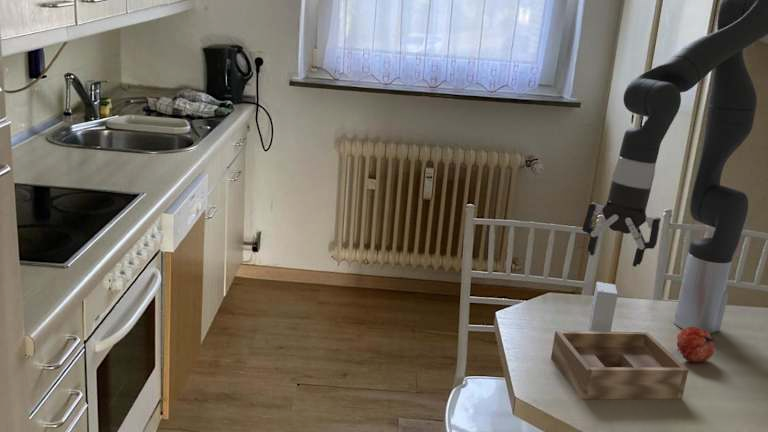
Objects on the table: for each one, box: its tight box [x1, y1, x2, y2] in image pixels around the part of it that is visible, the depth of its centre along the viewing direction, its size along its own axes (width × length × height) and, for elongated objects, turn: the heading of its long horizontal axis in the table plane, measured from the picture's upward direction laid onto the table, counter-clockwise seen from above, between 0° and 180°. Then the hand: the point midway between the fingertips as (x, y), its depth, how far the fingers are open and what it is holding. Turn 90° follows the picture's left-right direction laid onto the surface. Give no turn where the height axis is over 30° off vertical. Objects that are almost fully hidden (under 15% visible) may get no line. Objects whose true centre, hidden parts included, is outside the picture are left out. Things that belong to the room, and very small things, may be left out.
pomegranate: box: [676, 326, 716, 363], centre depth 162 cm, size 7×7×10 cm
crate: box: [550, 330, 689, 400], centre depth 151 cm, size 20×16×6 cm
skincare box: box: [586, 281, 619, 332], centre depth 167 cm, size 6×4×12 cm
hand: (613, 260), depth 156 cm, fingers open, 8 cm apart
